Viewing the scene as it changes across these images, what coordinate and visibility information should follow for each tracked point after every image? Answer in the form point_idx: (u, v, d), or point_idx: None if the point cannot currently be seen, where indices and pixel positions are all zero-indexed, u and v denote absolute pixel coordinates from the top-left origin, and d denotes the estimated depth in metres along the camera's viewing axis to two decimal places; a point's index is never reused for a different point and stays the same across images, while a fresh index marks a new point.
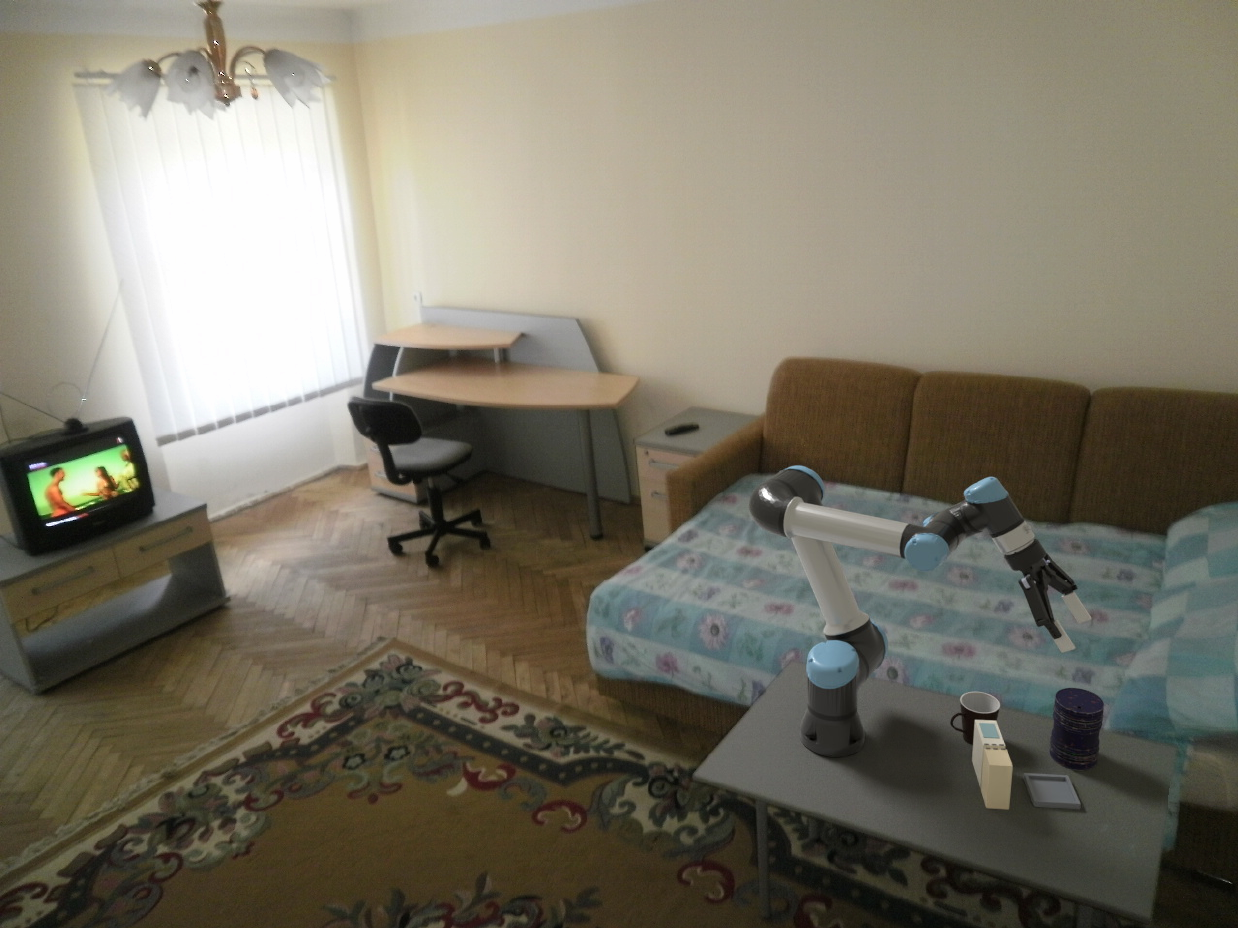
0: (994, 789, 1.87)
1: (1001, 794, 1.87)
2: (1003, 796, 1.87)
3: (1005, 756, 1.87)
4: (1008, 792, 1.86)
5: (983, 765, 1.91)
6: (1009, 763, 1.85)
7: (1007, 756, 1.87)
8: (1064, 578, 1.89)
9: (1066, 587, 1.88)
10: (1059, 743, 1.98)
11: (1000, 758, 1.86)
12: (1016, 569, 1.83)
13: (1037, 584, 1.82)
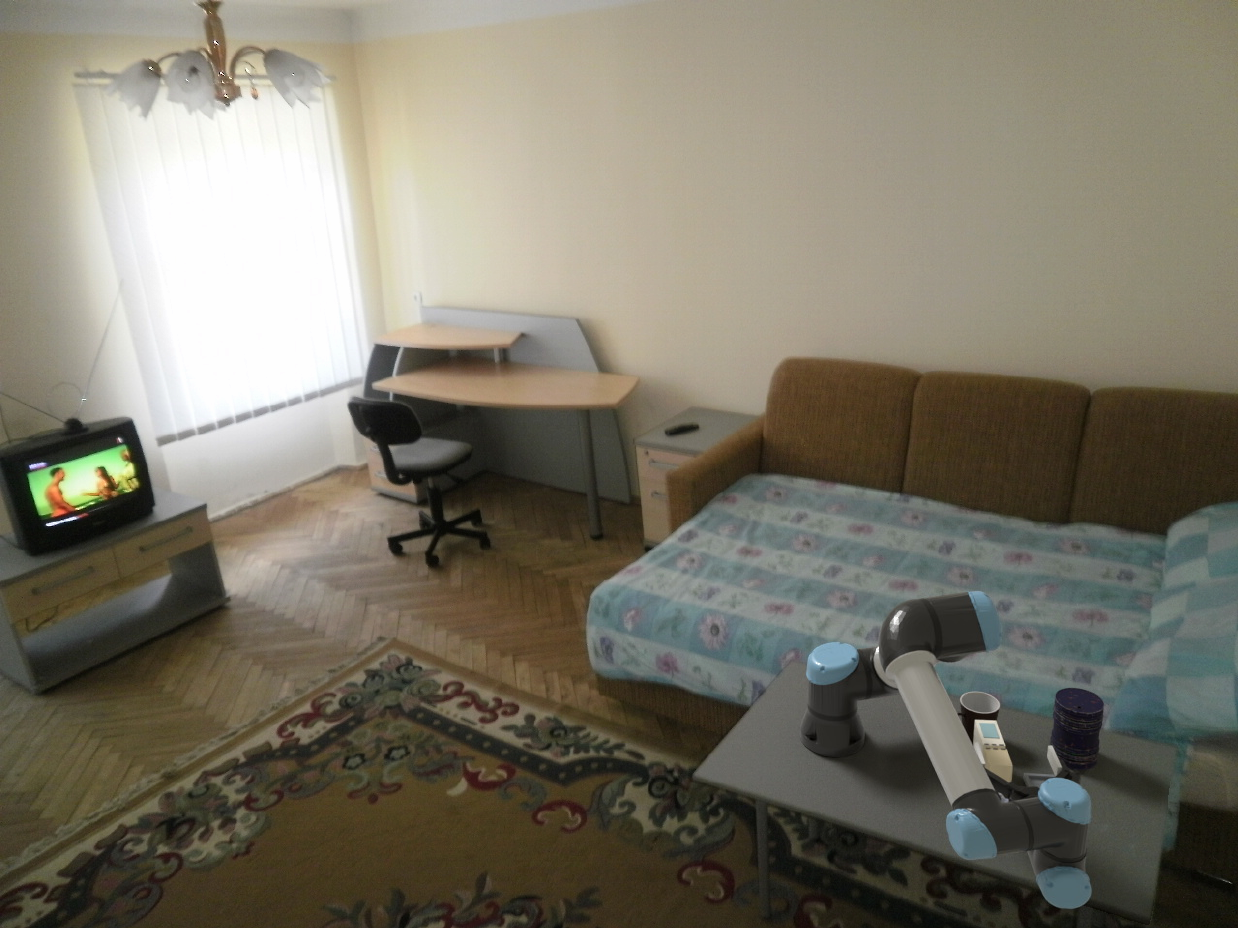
0: None
1: None
2: (1003, 796, 1.87)
3: (1005, 756, 1.87)
4: None
5: None
6: (1009, 763, 1.85)
7: (1007, 756, 1.87)
8: None
9: None
10: (1059, 743, 1.98)
11: (1000, 758, 1.86)
12: None
13: None
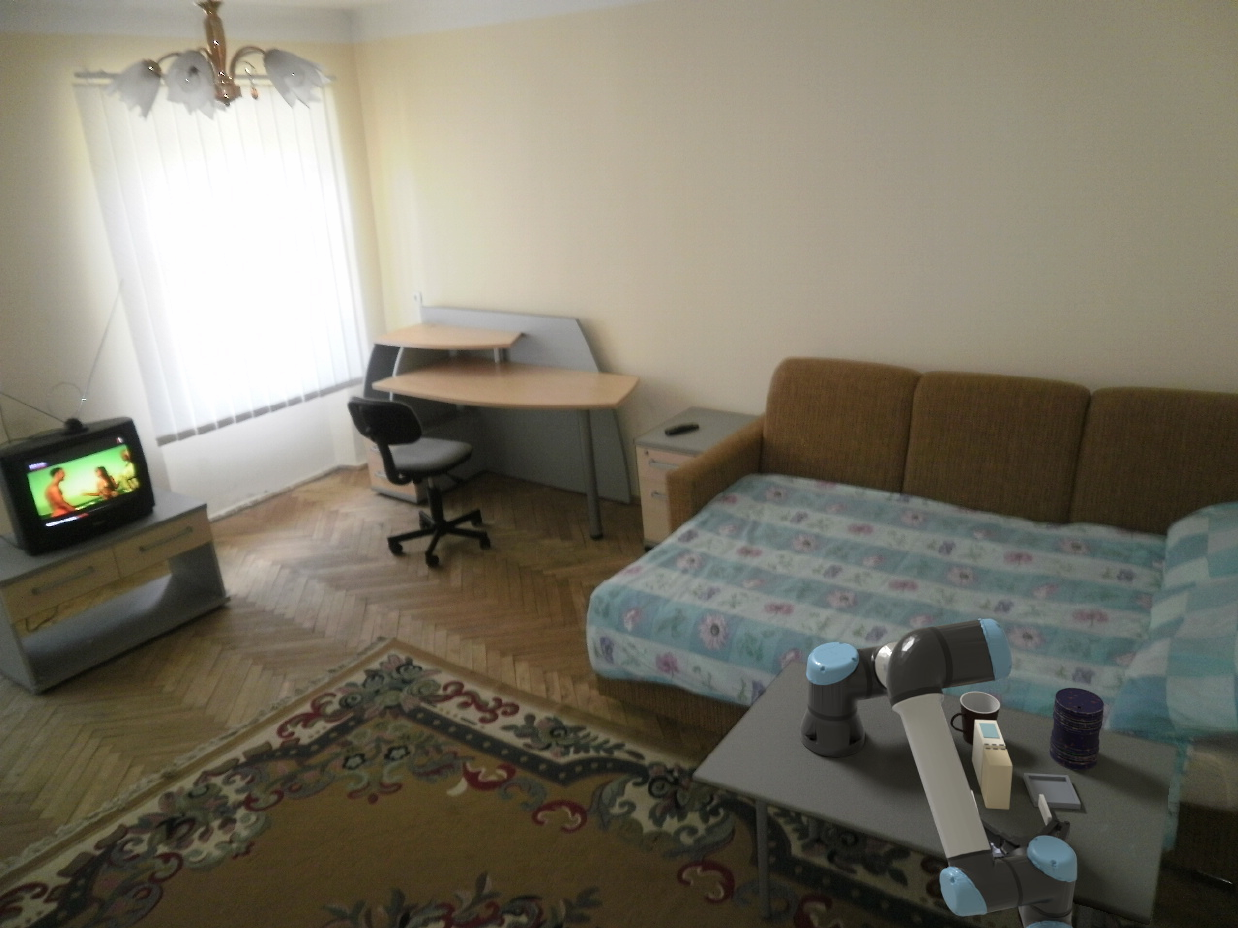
0: (994, 789, 1.87)
1: (1001, 794, 1.87)
2: (1003, 796, 1.87)
3: (1005, 756, 1.87)
4: (1008, 792, 1.86)
5: (983, 765, 1.91)
6: (1009, 763, 1.85)
7: (1007, 756, 1.87)
8: None
9: None
10: (1059, 743, 1.98)
11: (1000, 758, 1.86)
12: (1008, 854, 1.66)
13: None
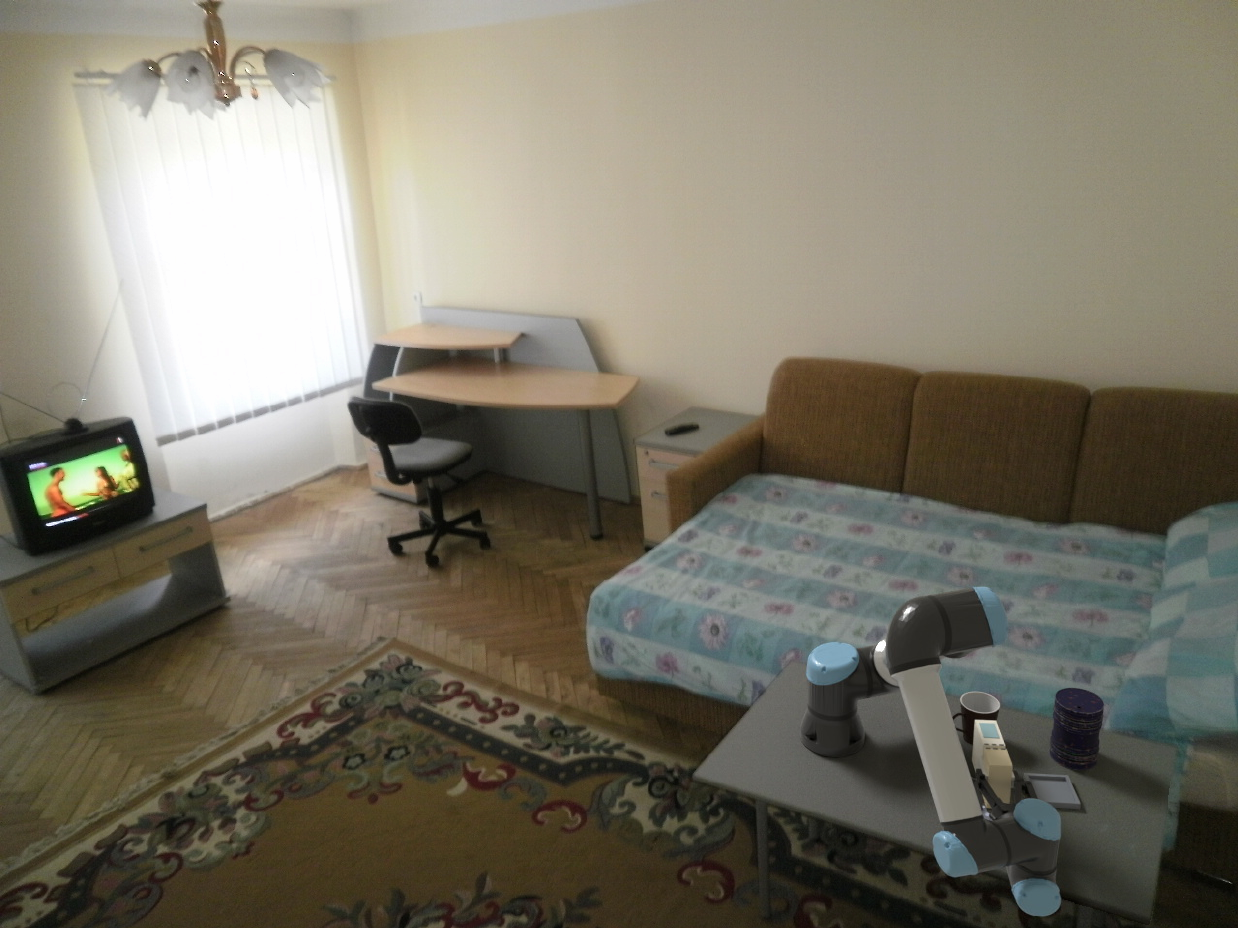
0: (994, 789, 1.87)
1: (1001, 794, 1.87)
2: (1003, 796, 1.87)
3: (1005, 756, 1.87)
4: (1008, 792, 1.86)
5: None
6: (1009, 763, 1.85)
7: (1007, 756, 1.87)
8: (1027, 797, 1.82)
9: (1014, 793, 1.84)
10: (1059, 743, 1.98)
11: (1000, 758, 1.86)
12: (997, 819, 1.74)
13: None
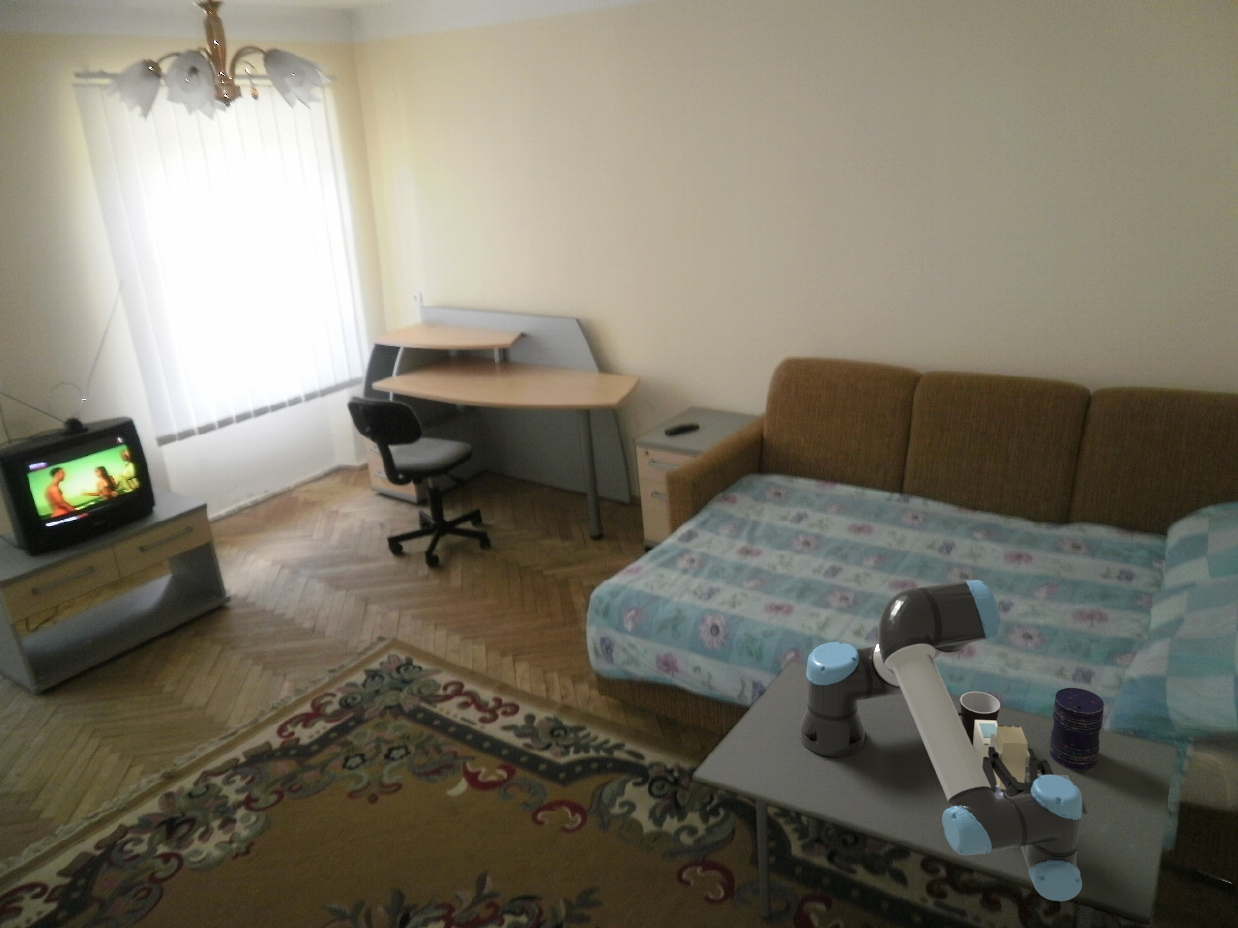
0: (1008, 768, 1.76)
1: (1015, 774, 1.76)
2: (1017, 775, 1.76)
3: (1020, 733, 1.76)
4: (1023, 772, 1.75)
5: None
6: (1024, 740, 1.74)
7: (1022, 733, 1.76)
8: None
9: None
10: (1059, 743, 1.98)
11: (1014, 735, 1.76)
12: None
13: None
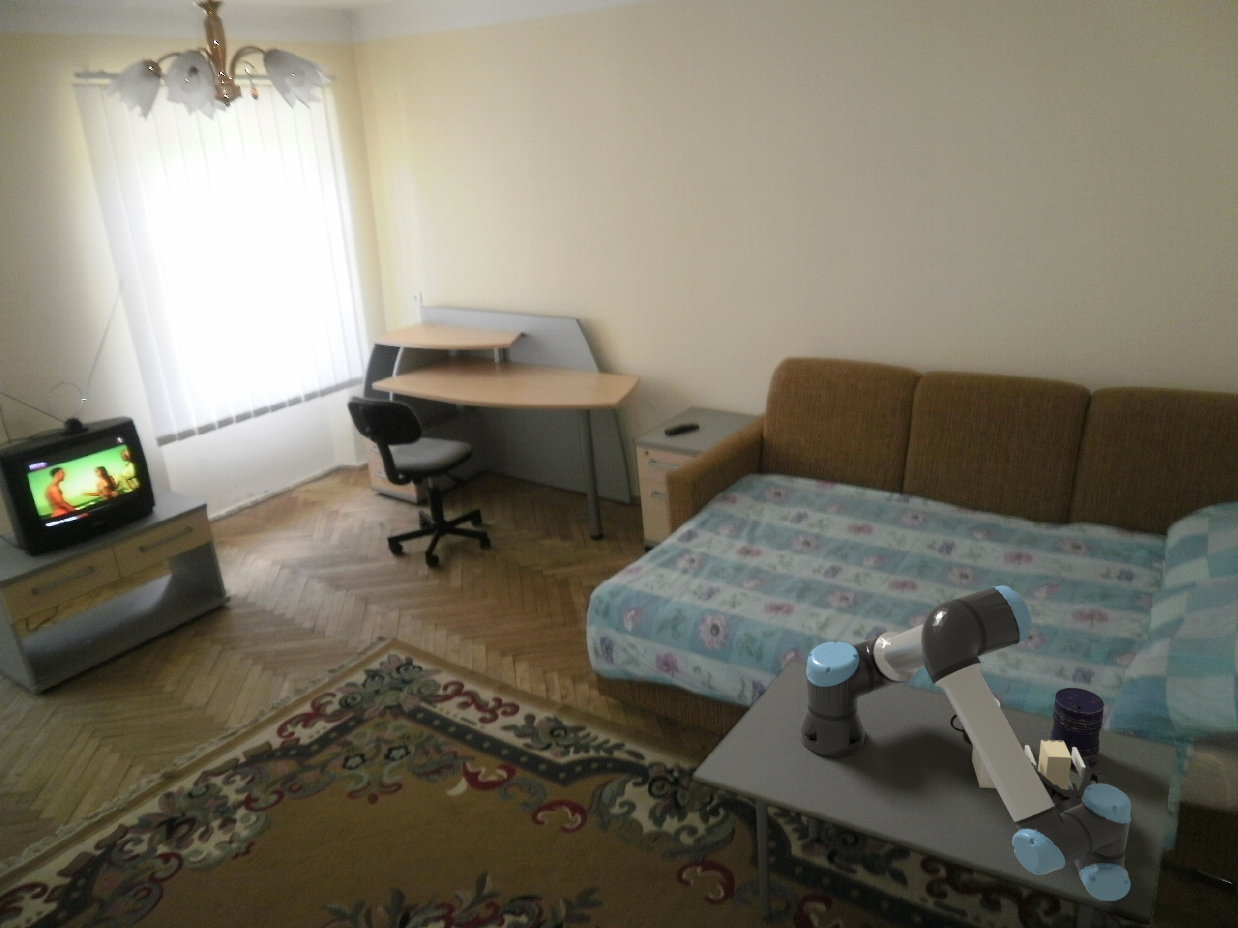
0: (1052, 781, 1.87)
1: (1059, 786, 1.87)
2: (1061, 787, 1.87)
3: (1063, 747, 1.87)
4: (1066, 784, 1.86)
5: (1040, 757, 1.91)
6: (1067, 754, 1.85)
7: (1065, 748, 1.87)
8: None
9: None
10: None
11: (1058, 749, 1.87)
12: (1059, 805, 1.74)
13: None
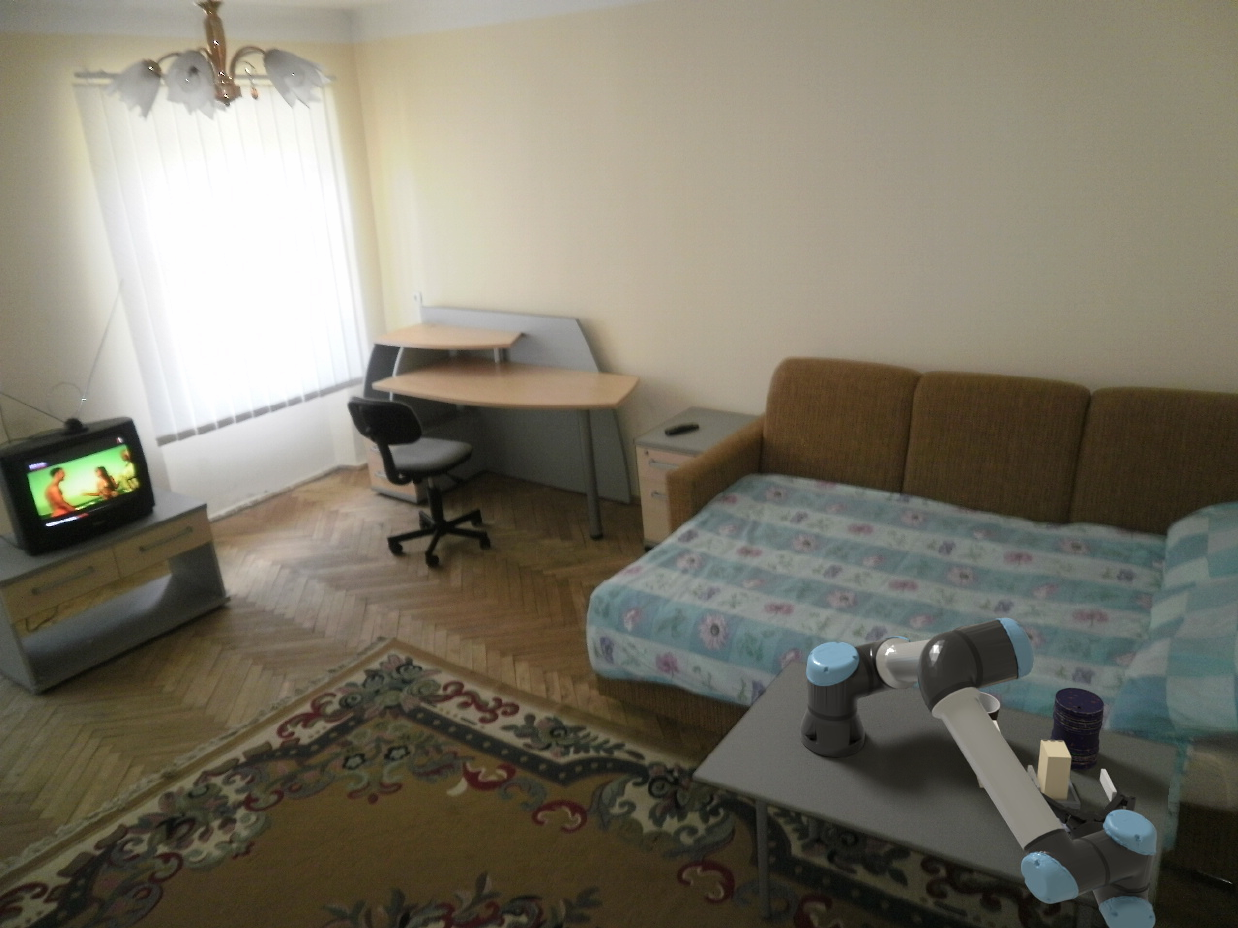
0: (1052, 781, 1.87)
1: (1059, 786, 1.87)
2: (1061, 787, 1.87)
3: (1063, 747, 1.87)
4: (1066, 784, 1.86)
5: (1040, 757, 1.91)
6: (1067, 754, 1.85)
7: (1065, 748, 1.87)
8: None
9: None
10: None
11: (1058, 749, 1.87)
12: (1076, 829, 1.62)
13: None
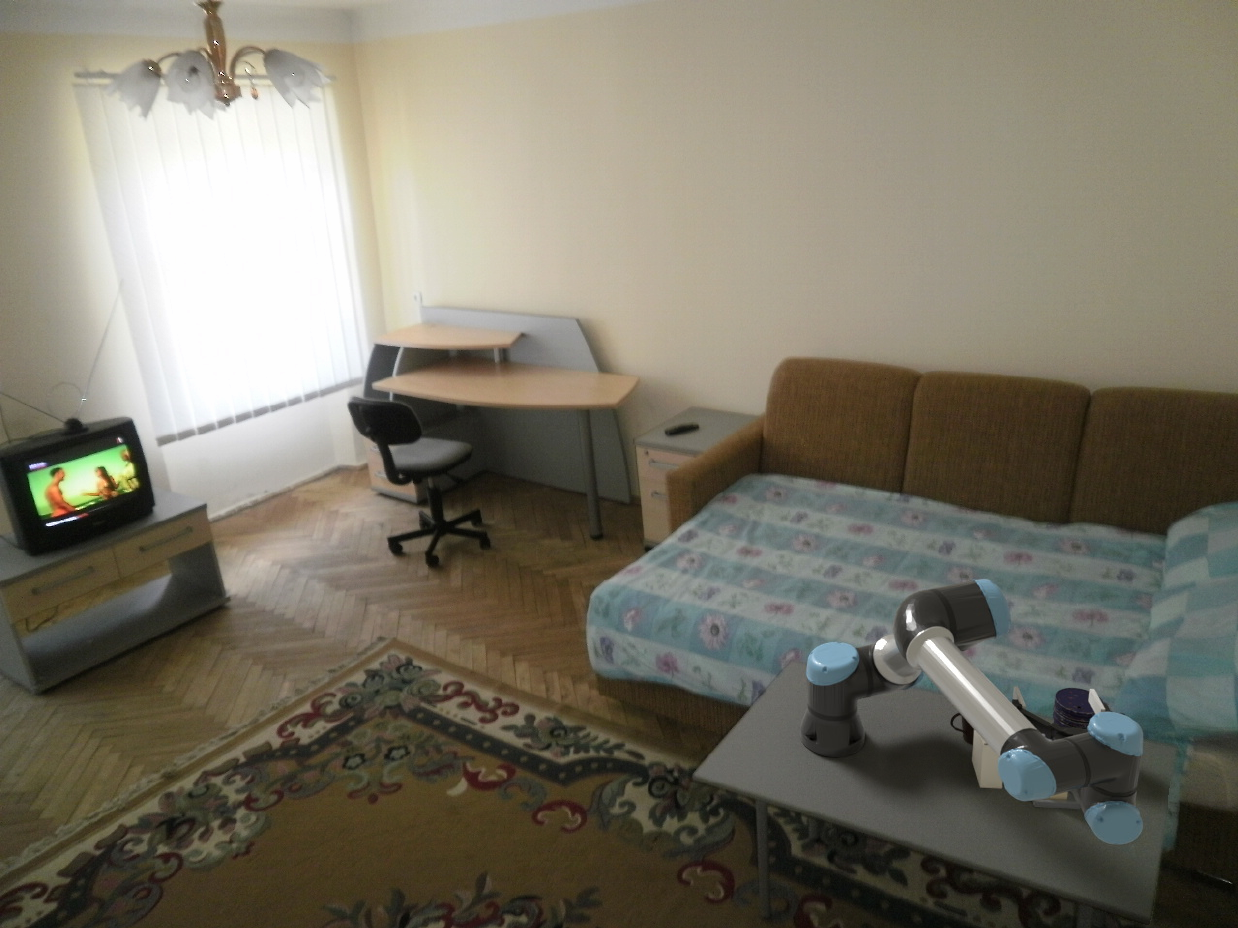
0: None
1: None
2: None
3: None
4: None
5: None
6: None
7: None
8: None
9: None
10: None
11: None
12: None
13: None
